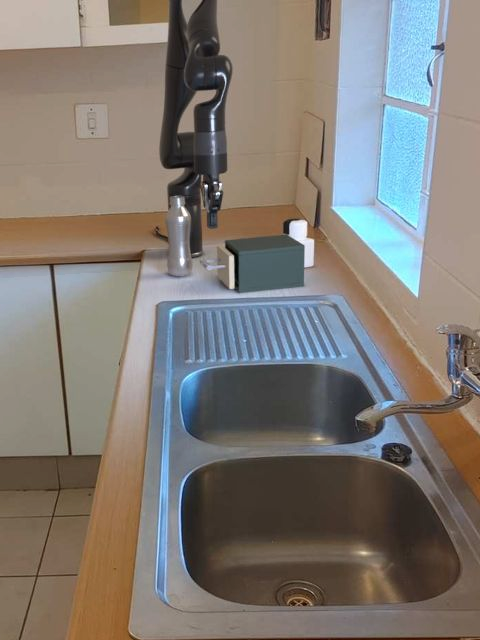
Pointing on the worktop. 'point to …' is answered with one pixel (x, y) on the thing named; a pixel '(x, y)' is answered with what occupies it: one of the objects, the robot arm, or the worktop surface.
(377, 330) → the worktop surface
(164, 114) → the robot arm
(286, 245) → the cabinet
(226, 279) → the drawer
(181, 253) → the silver metal bottle
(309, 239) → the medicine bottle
